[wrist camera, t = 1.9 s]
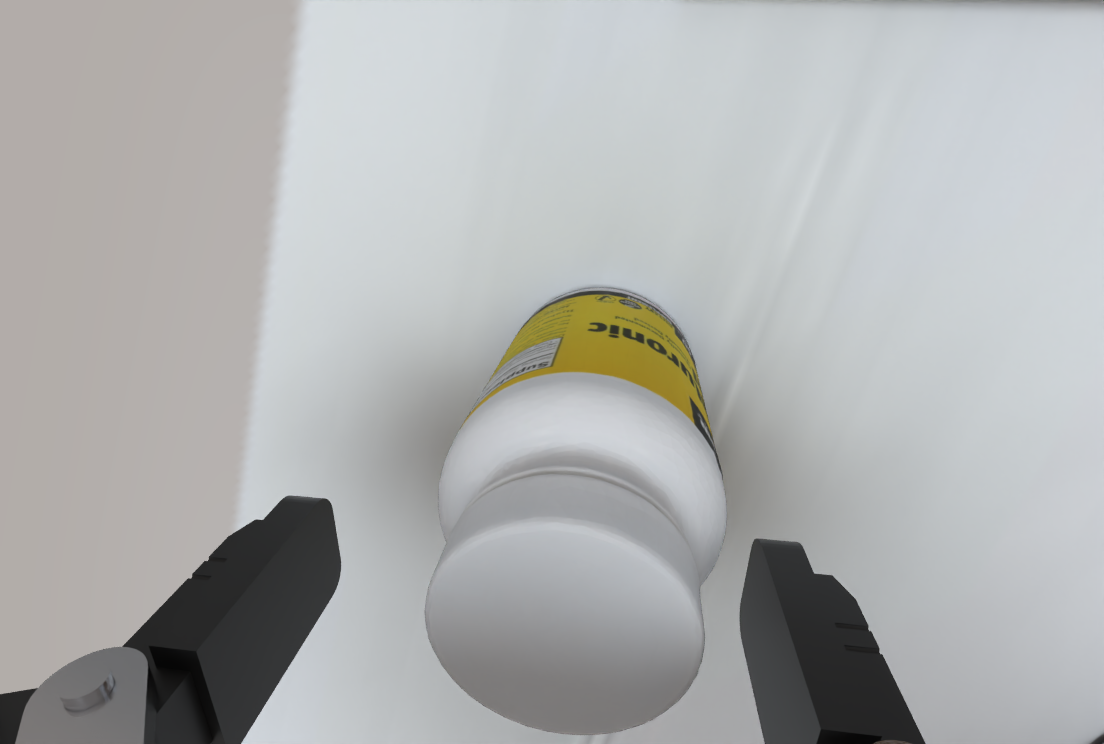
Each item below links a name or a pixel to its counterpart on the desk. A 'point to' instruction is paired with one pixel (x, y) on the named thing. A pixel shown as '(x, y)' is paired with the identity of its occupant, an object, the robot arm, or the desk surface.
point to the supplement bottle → (580, 522)
